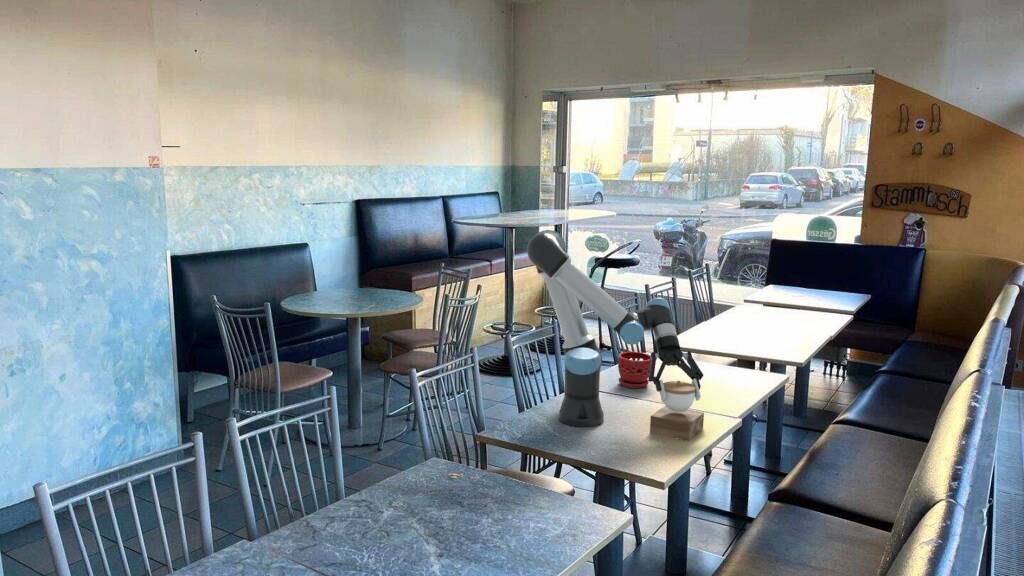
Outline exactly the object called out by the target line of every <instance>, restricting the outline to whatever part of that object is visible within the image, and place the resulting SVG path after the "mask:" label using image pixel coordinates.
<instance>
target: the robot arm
mask: <svg viewBox="0 0 1024 576" xmlns="http://www.w3.org/2000/svg"><path fill="white" fill-rule="evenodd" d="M526 254H527V256H528V259H529V260H530V262H531V263H532V265H534V266H535V268H536V271H537V274H538V275H539V276H542V277H543V279H544V281H545V284H546V288H547V291H548V294H549V297H550V300H551V303H552V306H553V309H554V311H555V315H556V318H557V321H558V324H559V326H560V329H561V334H562V336H563V340H564V342H563V344H562V346H561V347H562V349H563V352H564V356H565V357H564V397H563V400H562V403H561V406H560V409H559V411H558V420H559V422H561V423H563V424H565V425H568V426H572V427H578V428H579V427H580V428H581V427H582V428H583V427H585V428H586V427H594V426H598V425H601V424H602V423H603V422H604V421H605V418H604V417H605V416H604V415H605V414H604V411H603V407H602V405H601V404H602V403H601V400H600V377H601V369H602V367H601V366H602V363H603V356H602V352H601V350H600V348H599V347H598V346H597V342H596V340H595V336H594V335H592V334H590V333H589V332H588V329H587V326H586V322H585V319H584V317H583V313H582V311H581V308H580V304H579V301H580V302H582V303H583V304H584V305H585V306H586V307H587V308H588V309H590V310H591V311H592V312H593V313H594V314H595V315H596V316H598V317H599V318H600V319H601V320H602V321H604V322H605V323H606V324H607V325H608V326H609V327H610V328H611V329H613V330H614V331H615V333H617V335H618V336H619V337H620V338H621V340H622V341H623V342H624V343H626V344H628V345H638V344H639V343H640V342H641V341H642V340H643V338H644V334H645V331H651V330H652V334H653V337H654V342H655V346H656V350H657V353H656V352H653V351H652V352H651V353H650V354H649V355H650V361H651V363H650V371H649V377H648V379H647V380H648V381H649V383H652V382H653V383H652V384H653V385H654V386H655V389H656V390H655V391H657V392H658V393H659V394H660V399H661V402H662V403H664V401H665V400H666V398H667V397H666V393H665V389H664V385H663V383H664V382H663V379H661V377H662V374H663V373H664V372H663V371H664V370H665V367H666V366H667V367H670V366H677V367H678V368H680V369H681V370H682V371H683V372H684V373H685V375H687V377H689V379H691V380H692V381H691V383H690V384H692V385H694V386H695V387H696V391H695V398H694V400H695V401H699V400H700V399H701V397H702V396H701V392H700V390H701V383H700V381H702V379H703V377H704V373H703V372H702V370H701V368H700V367H699V365H698V364H697V363H696V361H695V359H694V357H693V355H692V351H688V350H687V352H683V351H682V349H681V344H680V341H679V338H678V334H677V329H676V327H675V323H674V320H673V315H672V310H671V307H670V304H669V302H668V301H667V299H666V298H663V297H654V298H652V299H651V300H648V301H647V303H646V307H644V308H642V309H637V310H634V311H630V312H629V311H628V310H626V309H625V308H624V306H622V305H621V304H619V302H617V301H616V300H615V299H614V298H613V297H612V296H611V295H609V294H608V292H606V291H605V290H604V289H603V288H601V287H600V286H599V285H598V284H597V283H596V282H595V281H594V280H593V279H591V277H589V276H588V275H587V274H586V273H585V272H583V270H581V269H580V268H579V267H578V266H577V265H576V264H574V263H573V262H572V259H571V258H572V257H571V255H569V254H568V252H567V250H566V241H565V239H564V238H563V236H562V235H561V234H560V233H559V232H557V231H555V230H550V229H546V230H541V231H539V232H537V233H536V234H535V235H534V236H533V237H532V238H531V239H530V240H529V241H528V244H527V247H526ZM578 300H579V301H578ZM657 360H660V362H661V364H660V367H659V369H658V371H657V373H656V375H655V370H656V363H657ZM685 361H686V362H685Z"/></svg>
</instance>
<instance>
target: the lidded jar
mask: <svg viewBox="0 0 1024 576" xmlns="http://www.w3.org/2000/svg"><path fill="white" fill-rule="evenodd" d="M663 385H664V389H665V393H666V397H667V398H666V400H665V401H664V402H663V404H664V406H665V405H666V406H667V407H668V409H669V410H670V411H674V412H685V411H687V409H690V408H691V407H692V405H693V404H694V401H695V391H696V387H695V386H694V385H692V384H691V383H690V382H686V381H681V380H675V381H674V380H672V381H665V382H663Z"/></svg>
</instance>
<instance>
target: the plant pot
mask: <svg viewBox="0 0 1024 576" xmlns="http://www.w3.org/2000/svg"><path fill="white" fill-rule="evenodd" d="M650 355H651V354H648V353H644V352H641V351H640V352H639V351H623V352H621V353H619V354H618V359H617V361H618V362H617V366H618V367H617V368H618V373H619V378H618V383H619V384H620V385H621V386H624V387H626V388H631V389H641V388H644V387H646V386H647V385H648V384H649V383H650V382H649V381H648V378H649V371H650V363H651V361H650Z"/></svg>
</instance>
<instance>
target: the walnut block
mask: <svg viewBox="0 0 1024 576" xmlns="http://www.w3.org/2000/svg"><path fill="white" fill-rule="evenodd" d="M704 417H705V412H703V411H699V410H693V409H690V408H688V409H687V411H685V412H674V411H670V410H669V409H668V407H667V406H666V405H665V404H664V406H662V407H661V408H659V409H658V410H657V411H656V412H654V413H652V414H650V421H649V422H650V423H649V433H651V434H653V435H654V434H655V435H658V434H659V436H663V437H667V436H668V438H672V437H673V438H672V439H676V438H678V440H681V439H682V441H685V440H687V441H686V442H690V441H691V440H692V439H693V438H694V437H696V436H697V435H698V434H700V433H701V432H702V429H704V421H705V420H704ZM696 434H697V435H696ZM695 435H696V436H695ZM690 439H691V440H690ZM689 440H690V441H689Z"/></svg>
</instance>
